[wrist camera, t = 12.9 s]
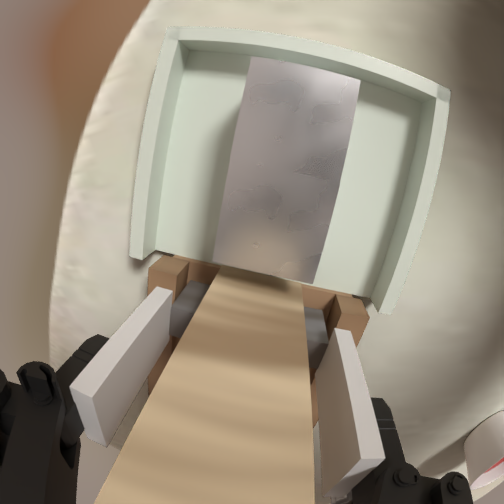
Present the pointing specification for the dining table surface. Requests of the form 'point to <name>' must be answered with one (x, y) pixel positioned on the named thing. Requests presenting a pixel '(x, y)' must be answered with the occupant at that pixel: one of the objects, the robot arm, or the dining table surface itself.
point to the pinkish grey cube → (274, 220)
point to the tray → (354, 171)
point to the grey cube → (295, 118)
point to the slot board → (329, 301)
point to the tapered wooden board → (228, 400)
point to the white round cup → (485, 452)
